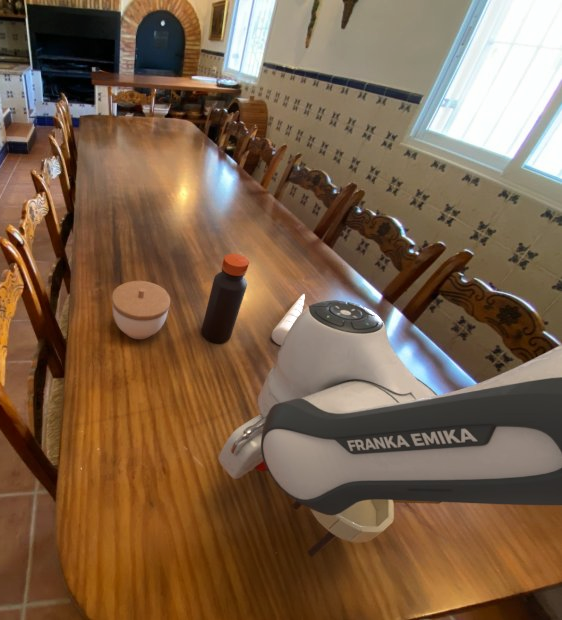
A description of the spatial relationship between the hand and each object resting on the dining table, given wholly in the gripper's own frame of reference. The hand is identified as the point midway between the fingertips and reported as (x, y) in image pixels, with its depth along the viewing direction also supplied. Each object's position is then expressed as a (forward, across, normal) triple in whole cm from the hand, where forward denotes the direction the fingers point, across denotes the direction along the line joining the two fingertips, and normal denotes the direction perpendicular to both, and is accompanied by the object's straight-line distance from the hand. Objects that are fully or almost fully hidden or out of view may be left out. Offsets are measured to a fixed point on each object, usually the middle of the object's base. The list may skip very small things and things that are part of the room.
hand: (264, 455), depth 57 cm
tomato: (+2, 0, 0) cm, 2 cm away
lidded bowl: (+4, 0, +38) cm, 38 cm away
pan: (+3, +3, -13) cm, 14 cm away
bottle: (+4, +15, +28) cm, 32 cm away
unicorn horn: (+4, +35, +22) cm, 42 cm away
